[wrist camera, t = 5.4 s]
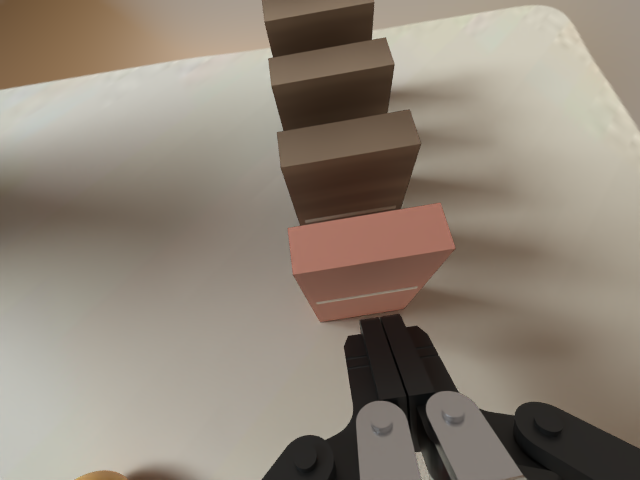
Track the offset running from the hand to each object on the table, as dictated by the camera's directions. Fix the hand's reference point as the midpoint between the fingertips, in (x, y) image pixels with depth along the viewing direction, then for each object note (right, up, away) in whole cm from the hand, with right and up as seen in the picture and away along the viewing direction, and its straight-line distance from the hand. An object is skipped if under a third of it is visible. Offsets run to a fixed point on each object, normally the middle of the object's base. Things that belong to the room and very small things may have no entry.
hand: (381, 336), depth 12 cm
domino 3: (0, +3, +9) cm, 10 cm away
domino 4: (0, 0, +7) cm, 7 cm away
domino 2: (-1, +7, +10) cm, 13 cm away
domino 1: (-2, +11, +12) cm, 16 cm away
